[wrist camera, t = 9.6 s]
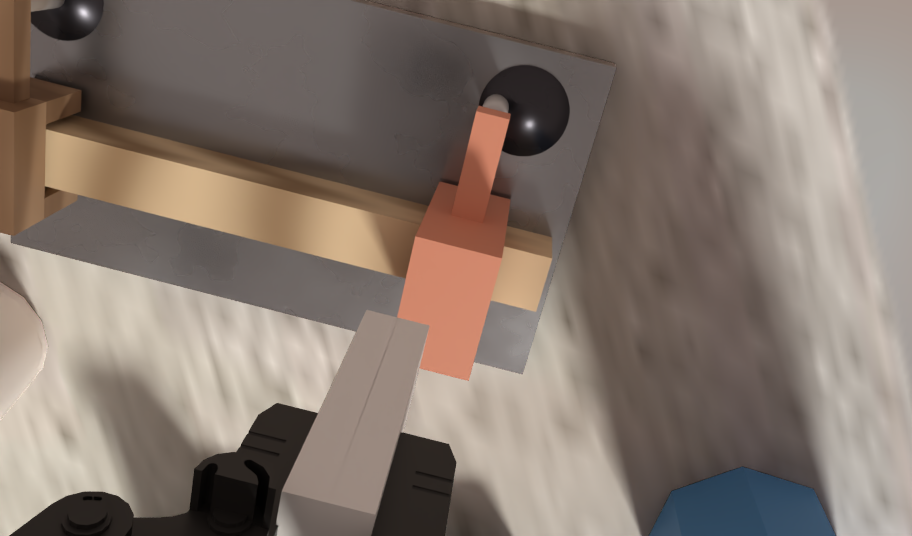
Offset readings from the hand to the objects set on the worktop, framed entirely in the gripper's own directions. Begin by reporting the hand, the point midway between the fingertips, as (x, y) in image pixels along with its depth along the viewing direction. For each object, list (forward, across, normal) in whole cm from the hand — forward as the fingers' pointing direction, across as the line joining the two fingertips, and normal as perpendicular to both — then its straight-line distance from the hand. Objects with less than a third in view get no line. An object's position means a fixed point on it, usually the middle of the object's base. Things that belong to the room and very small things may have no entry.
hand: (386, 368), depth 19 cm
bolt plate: (+17, -7, -1) cm, 18 cm away
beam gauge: (+15, -7, 0) cm, 17 cm away
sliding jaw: (+15, +1, 0) cm, 15 cm away
